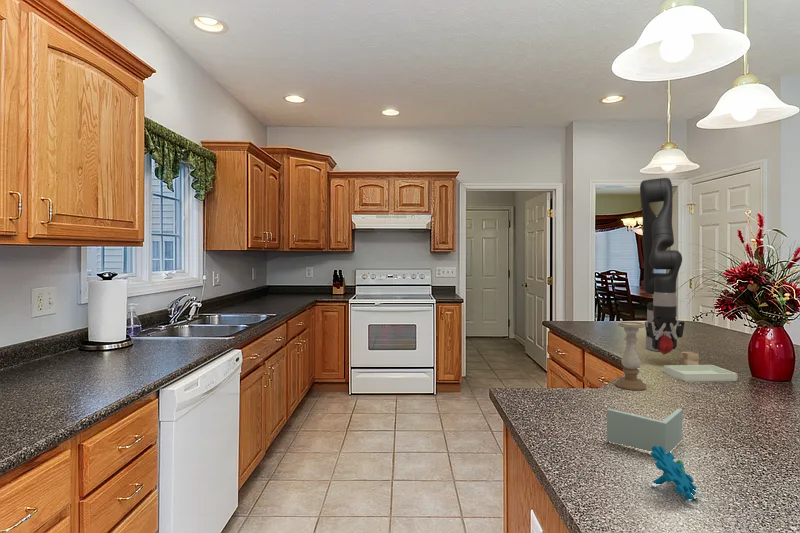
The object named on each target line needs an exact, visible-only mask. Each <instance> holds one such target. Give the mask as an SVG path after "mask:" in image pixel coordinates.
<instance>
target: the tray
mask: <svg viewBox="0 0 800 533" xmlns="http://www.w3.org/2000/svg"><path fill="white" fill-rule="evenodd" d="M663 373H664V374H666V375H668V376H669V377H670V376H671V377H673V378H675V379H678V380H680V381H682V382H685V383H689V382H691V383H692V382H695V383H696V382H697V383H698V382H701V383H702V382H738V373H736V372H733V371H730V370H728V369H725V368H722V367H720V366H717V365H714V364H698V365H681V364H679V365H678V364H676V365H675V364H674V365H673V364H670V365H668V364H667V365H665V364H664V365H663Z"/></svg>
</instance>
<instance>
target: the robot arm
mask: <svg viewBox="0 0 800 533" xmlns="http://www.w3.org/2000/svg"><path fill="white" fill-rule="evenodd" d="M639 193H640V194H639V195H640V196H639V198H640V205H641V215H642V248H643V267H644V268H643V289H644V293H645V294H648V295H653V296H652V297H653V300H652V301H651V302H650V301H649V302H648V303H647V304H646V308H647V310H646V311H647V312H646V314H647V315H646V316H647V317H646V321H645V322H644V324H645V327H644V328H645V348H646V349H647V350H649V351H654V352H660V351H659V350H658V349H659V340H658V338H659V337H661V336H662V335H663V333H665V334H666V335H667V336H668V337H669V338H670V339H671V340H672V342H673V349H672V350H676V348H677V345H678V344H677V343H678V339H679V338H682V337H683V335H684V334H683V333H684V329H685V321H682V320H677V311H678V310H677V308H678V307H677V306H678V305H677V303H678V302H677V301H678V299H677V279H678V274H679V271H680V268H681V265H682V263H683V255H682V253H681V252H680V251H679V250H674V249H673V250H672V249H671V250H667V249H668V248H670V247H672V246H674V244H675V239H674V231H673V184H672V181H671V179H670V178H669V177H661V178H651V179H644V180H642V181H641V182H640V186H639ZM658 202H659V203H660V202H663V204H662V208H661V209H660V211H659V213H657V215H656V213H655V212H654V211H653V209H652V207H651V203H652V204H653V203H658ZM654 270H669V271H668V273H667V272H666V273H664V272H661V273H660V272H653V271H654ZM675 326H676V328H675Z"/></svg>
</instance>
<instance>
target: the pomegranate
mask: <svg viewBox="0 0 800 533" xmlns="http://www.w3.org/2000/svg"><path fill="white" fill-rule="evenodd" d="M658 340H659V349H658V350H659V351H658V352H660V353H661V354H662V355H667V354H668V353H670V352H671V351H672V350H674V349H673V342H672V340H671V339H670V338H669V337H668V336H667V335H666V334H665V333H663V335H662V336H661V337H659V338H658Z"/></svg>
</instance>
